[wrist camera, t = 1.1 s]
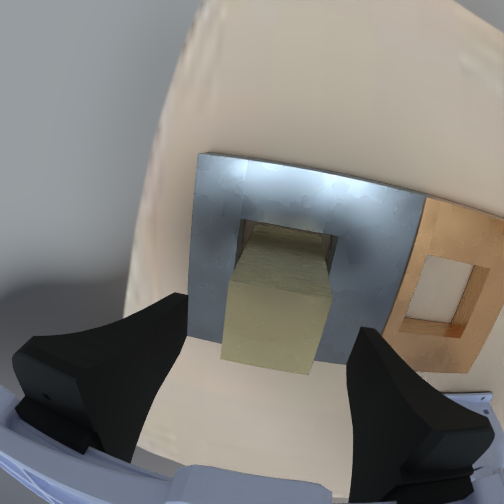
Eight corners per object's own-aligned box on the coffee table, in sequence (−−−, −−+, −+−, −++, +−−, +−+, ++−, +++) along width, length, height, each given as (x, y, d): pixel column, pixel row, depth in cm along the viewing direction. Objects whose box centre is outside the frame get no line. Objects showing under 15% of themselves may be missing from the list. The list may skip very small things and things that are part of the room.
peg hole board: (514, 222, 16) (531, 231, 14) (458, 358, 21) (468, 374, 19) (208, 152, 18) (197, 154, 16) (194, 320, 22) (185, 337, 20)
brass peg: (320, 235, 19) (332, 299, 12) (307, 292, 20) (308, 374, 13) (256, 223, 19) (229, 280, 12) (248, 281, 21) (220, 358, 13)
